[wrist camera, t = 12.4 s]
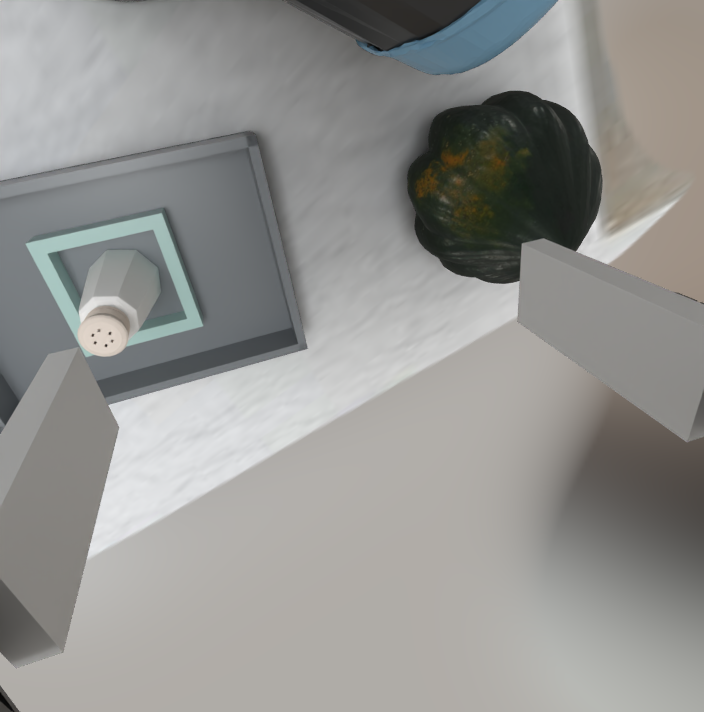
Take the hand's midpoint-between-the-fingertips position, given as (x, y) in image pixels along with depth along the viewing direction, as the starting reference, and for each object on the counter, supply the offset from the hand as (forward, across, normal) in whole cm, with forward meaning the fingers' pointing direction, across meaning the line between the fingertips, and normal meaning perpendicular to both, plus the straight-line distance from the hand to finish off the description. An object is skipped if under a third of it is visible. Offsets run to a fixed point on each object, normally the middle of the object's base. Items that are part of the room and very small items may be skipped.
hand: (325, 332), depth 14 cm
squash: (+29, +20, -3) cm, 35 cm away
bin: (+28, -11, -5) cm, 31 cm away
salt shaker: (+28, -11, -5) cm, 30 cm away
